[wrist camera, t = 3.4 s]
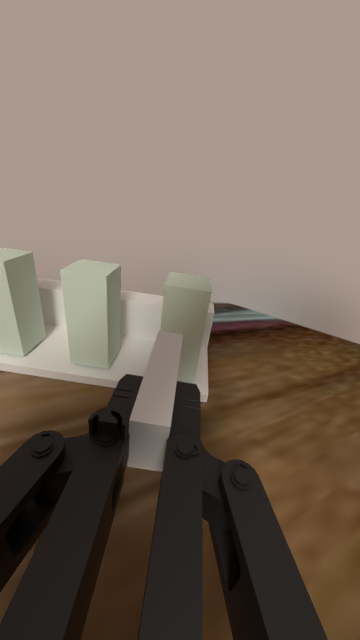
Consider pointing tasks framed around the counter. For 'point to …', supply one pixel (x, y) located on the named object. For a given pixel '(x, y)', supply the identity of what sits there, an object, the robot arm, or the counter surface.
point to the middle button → (92, 311)
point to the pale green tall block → (186, 317)
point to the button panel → (135, 342)
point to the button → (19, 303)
